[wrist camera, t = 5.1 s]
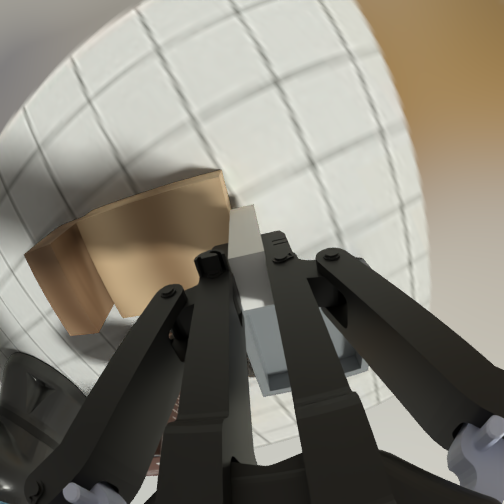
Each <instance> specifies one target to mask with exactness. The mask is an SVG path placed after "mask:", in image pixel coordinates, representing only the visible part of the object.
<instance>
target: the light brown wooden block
mask: <svg viewBox="0 0 504 504" xmlns="http://www.w3.org/2000/svg"><path fill="white" fill-rule="evenodd" d="M231 209H232V208H231V204H230V200H229V197H228V193H227V189H226V185H225V181H224V177H223V174H222V170H218V171H214V172H210V173H206V174H203V175H199V176H195V177H192V178H188V179H185V180H181V181H178V182H174V183H171V184H168V185H164V186H161V187H158V188H155V189H152V190H148V191H145V192H142V193H139V194H136V195H133V196H130V197H127V198H125V199H122V200H119V201H116V202H113V203H111V204H108V205H105V206H102V207H100V208H97V209H94V210H92V211H91V212H89V213H88V214H87V215H85V216H84V217H83V218H81V219H80V220H79V221H77V222H76V224H77V226H78V229H79V231H80V233H81V236H82V238H83V241H84V243H85V245H86V247H87V250H88V252H89V254H90V256H91V258H92V261H93V263H94V265H95V267H96V269H97V271H98V273H99V275H100V277H101V279H102V281H103V283H104V285H105V287H106V289H107V291H108V293H109V295H110V296H111V298H112V300H113V302H114V304H115V306H116V307H117V309H118V311H119V313H120V314H121V316H122V318H127V317H133V316H139V315H141V314H142V312H143V311H144V309H145V308H146V307H147V305H148V304H149V302H150V301H151V300H152V298H153V297H154V295H155V294H156V293H157V292H158V291H159V290H160V289H161V288H163V287H164V286H167V285H169V284H180V285H182V286H183V289H184V290H187V289H189V288H192V287H194V286H196V285H197V284H198V283H199V278H200V277H199V274H198V271H197V269H196V266H195V263H194V259H195V257H197V256H198V255H199V254H201V253H203V252H205V251H208V250H211V249H212V248H213V247H214V246H217V245H221V244H225V243H228V242H229V221H230V210H231Z"/></svg>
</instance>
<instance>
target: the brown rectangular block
mask: <svg viewBox="0 0 504 504" xmlns="http://www.w3.org/2000/svg"><path fill="white" fill-rule="evenodd" d="M81 218H83V217H81ZM81 218H78V219H76V220H73V221H71V222H69V223H66V224H64V225H61V226H59V227H58V228H56V229H55V230H54V231H52V232H51V233H50V234H49V235H47V236H46V237H45V238H43V239H42V240H41V241H40V242H38V243H37V244H36V245H35V246H34V247H32V248H31V249H30V250H29V251H28V252H26V253H25V254H24V256H25V258H26V260H27V262H28V264H29V266H30V268H31V270H32V272H33V274H34V276H35V278H36V280H37V282H38V284H39V286H40V287H41V289H42V291H43V293H44V295H45V296H46V298H47V300H48V302H49V303H50V305H51V307H52V308H53V310H54V312H55V313H56V315H57V316H58V318H59V319H60V321H61V323H62V324H63V326H64V327H65V329H66V330H67V332H68V333H69V335H70V336H75V335H85V334H94V333H99V331H100V329H101V328H102V326H103V324H104V322H105V320H106V318H107V316H108V314H109V312H110V310H111V309H112V307H113V305H114V302H113V300H112V298H111V296H110V295H109V293H108V291H107V289H106V287H105V285H104V283H103V281H102V279H101V277H100V275H99V273H98V271H97V269H96V267H95V265H94V263H93V261H92V258H91V256H90V254H89V252H88V250H87V247H86V245H85V243H84V241H83V238H82V236H81V233H80V231H79V229H78V226H77V224H76V222H77V221H79V220H80V219H81Z"/></svg>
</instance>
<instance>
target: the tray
mask: <svg viewBox="0 0 504 504" xmlns="http://www.w3.org/2000/svg"><path fill="white" fill-rule="evenodd" d="M358 260H360V261H361V262H362V263H364V264H365V265H367V266H368V267H370V266H369V265H368V264H367V263H366V261H365V260H364V259H363V258H362V259H358ZM241 308H242V312H243V315H244V321H245V337H246V352H247V354H248V357H249V360H250V363H251V365H252V368H253V371H254V373H255V376H256V379H257V381H258V384H259V387H260V389H261V392H262V395H263V397H266V396H271V395H276V394H281V393H286V392H291V386H290V381H289V376H288V371H287V366H286V361H285V356H284V350H283V345H282V340H281V335H280V330H279V325H278V320H277V316H276V311H275V306H274V304H273V305H269V306H264V307H259V308H255V309H250V310H245V311H243V307H242V304H241ZM319 309H320V312H321V314H322V317H323V319H324V322H325V324H326V327H327V329H328V332H329V334H330V337H331V339H332V342H333V345H334V347H335V350H336V352H337V355H338V357H339V360H340V363H341V365H342V368H343V371H344V373H345V376H346V377H349V376H352V375H356V374H359V373H362V372H365V371H368V367H369V365H368V364H367V363H366V361H365V360H364V359H363V358H362V357H361V356H360V354H359V353H358V352H357V351H356V350H355V349H354V348H353V346H352V345H351V344H350V343H349V342H348V341H347V339H346V338H345V337H344V336H343V335H342V334H341V333H340V331H339V330H338V329H337V328H336V327H335V326H334V325H333V323H332V322H331V321H330V320H329V319H328V318H327V317H326V315H325V314H324V313H323V312H322V310H321V307H319Z"/></svg>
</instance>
